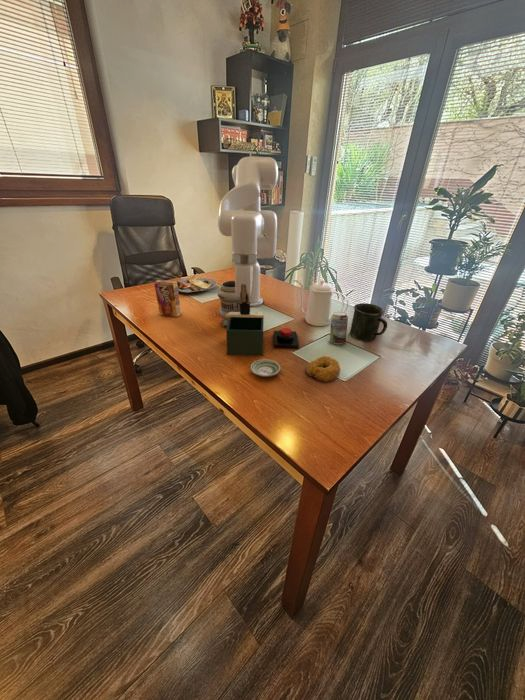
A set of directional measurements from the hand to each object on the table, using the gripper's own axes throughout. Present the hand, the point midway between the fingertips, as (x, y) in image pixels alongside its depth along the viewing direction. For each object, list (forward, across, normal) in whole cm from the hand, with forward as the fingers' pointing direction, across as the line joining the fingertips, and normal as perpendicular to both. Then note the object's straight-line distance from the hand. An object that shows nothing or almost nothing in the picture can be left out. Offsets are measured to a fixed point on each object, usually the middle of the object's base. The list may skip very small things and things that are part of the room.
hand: (245, 313), depth 98 cm
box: (+15, -4, 0) cm, 16 cm away
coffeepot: (+15, -27, +30) cm, 43 cm away
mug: (+15, -13, +48) cm, 52 cm away
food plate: (+15, -68, -34) cm, 77 cm away
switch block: (+15, -8, +15) cm, 23 cm away
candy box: (+15, -31, -36) cm, 50 cm away
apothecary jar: (+15, -22, -7) cm, 28 cm away
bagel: (+15, +13, +26) cm, 33 cm away
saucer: (+15, +13, +7) cm, 21 cm away
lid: (+3, -4, 0) cm, 5 cm away
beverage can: (+15, -9, +35) cm, 39 cm away
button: (+12, -8, +15) cm, 21 cm away
